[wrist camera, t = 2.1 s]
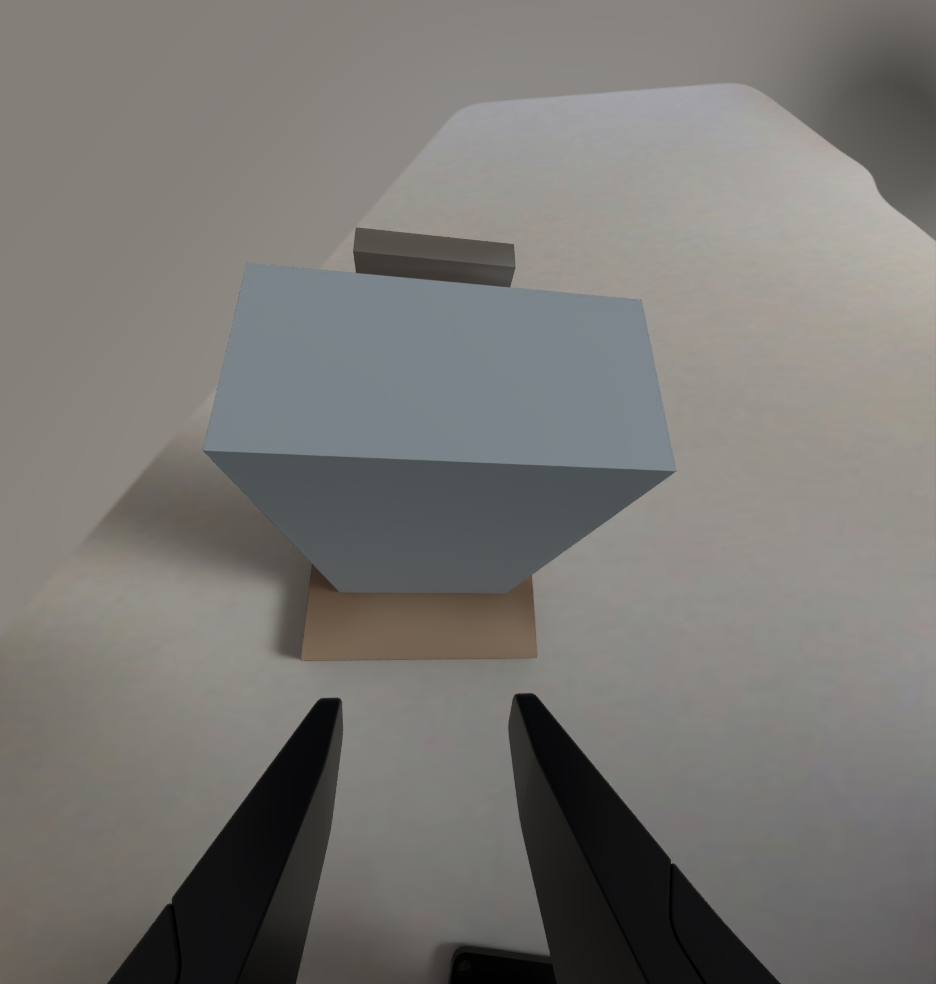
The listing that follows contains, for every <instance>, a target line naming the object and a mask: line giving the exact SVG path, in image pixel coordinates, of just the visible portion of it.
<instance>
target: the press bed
mask: <svg viewBox="0 0 936 984" xmlns="http://www.w3.org/2000/svg"><path fill="white" fill-rule="evenodd" d="M353 253H354V260H355V268H356V273H361V274H371V275H382V276H393V277H403V278H414V279H425V280H435V281H446V282H457V283H467V284H478V285H489V286H499V287H510V285H511V282H512V278H513V274H514V271H515V254H514V244H507V243H497V242H488V241H478V240H469V239H459V238H450V237H441V236H431V235H422V234H412V233H403V232H394V231H384V230H375V229H365V228H356V231H355V240H354V249H353ZM501 658H537V646H536V631H535V616H534V600H533V585H532V575H531V576H529V577H528V578H527V579H525V580H524V581H522V582H521V583H520V584H518V585H517V586H515V587H514V588H513V589H511V590H510V591H508V592H507V593H506V594H482V593H340V592H339V591H338V590H337V589H336V588H335V587H334V586H333V585H332V584H331V583H330V582H329V581H328V580H327V578H326V577H325V576H324V575H323V574H322V573H321V572H320V571H319V570H318V569H317V568H316V567H315V566H314V565H313V564H312V570H311V578H310V587H309V595H308V603H307V612H306V620H305V629H304V637H303V646H302V654H301V661H331V660H416V659H501Z"/></svg>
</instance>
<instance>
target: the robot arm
mask: <svg viewBox="0 0 936 984" xmlns="http://www.w3.org/2000/svg"><path fill="white" fill-rule="evenodd" d="M508 730H509V740H510V748H511V756H512V764H513V772H514V780H515V788H516V796H517V804H518V811H519V818H520V823H521V828H522V833H523V837H524V842H525V846H526V851H527V855H528V859H529V864H530V868H531V872H532V877H533V881H534V886H535V890H536V894H537V899H538V903H539V907H540V912H541V916H542V921H543V925H544V929H545V934H546V938H547V942H548V947H549V951H550V956H551V958H547V957H540V956H533V955H526V954H518V953H511V952H504V951H497V950H490V949H483V948H476V947H468V946H463V947H460V948H458V949H457V950H456V951H455V953H454V954H453V957H452V960H451V967H450V975H449V982H448V984H781V983H780V982H779V981H778V980H777V979H776V978H775V977H774V976H773V975H772V974H771V973H770V972H769V971H768V970H767V969H766V967H765V966H764V965H763V964H762V963H761V962H760V961H759V960H758V959H757V958H756V957H755V956H754V955H753V953H752V952H751V951H750V950H749V949H748V948H747V947H746V946H745V945H744V944H743V943H742V941H741V940H740V939H739V938H738V937H737V936H736V935H735V934H734V933H733V932H732V931H731V929H730V928H729V927H728V926H727V925H726V924H725V923H724V922H723V921H722V919H721V918H720V917H719V916H718V915H717V914H716V912H715V911H714V910H713V909H712V908H711V907H710V905H709V904H708V903H707V902H706V901H705V900H704V898H703V897H702V896H701V895H700V894H699V892H698V891H697V890H696V889H695V888H694V887H693V885H692V884H691V883H690V882H689V881H688V879H687V878H686V877H685V876H684V874H683V873H682V872H681V871H680V870H679V868H678V867H677V866H676V865H675V864H673V863H672V864H671V859H670V858H669V856H668V855H667V854H666V853H665V852H664V850H663V849H662V848H661V847H660V845H659V844H658V843H657V842H656V841H655V839H654V838H653V837H652V836H651V835H650V833H649V832H648V831H647V830H646V828H645V827H644V826H643V825H642V824H641V822H640V821H639V820H638V819H637V818H636V816H635V815H634V814H633V813H632V811H631V810H630V809H629V808H628V807H627V805H626V804H625V803H624V802H623V800H622V799H621V798H620V797H619V796H618V794H617V793H616V792H615V791H614V790H613V788H612V787H611V786H610V785H609V783H608V782H607V781H606V780H605V779H604V777H603V776H602V775H601V774H600V773H599V771H598V770H597V769H596V768H595V766H594V765H593V764H592V763H591V762H590V760H589V759H588V758H587V757H586V755H585V754H584V753H583V752H582V751H581V749H580V748H579V747H578V746H577V745H576V743H575V742H574V741H573V740H572V738H571V737H570V736H569V735H568V734H567V732H566V731H565V730H564V729H563V728H562V726H561V725H560V724H559V723H558V721H557V720H556V719H555V718H554V717H553V715H552V714H551V713H550V712H549V710H548V709H547V708H546V707H545V706H544V704H543V703H542V702H541V701H540V700H539V698H538V697H537V696H536V695H534V694H532V693H522V694H515V695H514V697H513V701H512V706H511V712H510V718H509V726H508ZM342 737H343V715H342V701H341V699H340V698H321V699H319V700H318V701H317V702H316V703H315V705H314V706H313V707H312V709H311V710H310V712H309V713H308V714H307V716H306V717H305V718H304V720H303V721H302V722H301V724H300V725H299V726H298V728H297V729H296V731H295V732H294V733H293V735H292V736H291V737H290V739H289V740H288V741H287V743H286V744H285V745H284V747H283V748H282V750H281V751H280V752H279V754H278V755H277V756H276V758H275V759H274V760H273V762H272V763H271V764H270V766H269V767H268V768H267V770H266V771H265V773H264V774H263V775H262V777H261V778H260V779H259V781H258V782H257V783H256V785H255V786H254V787H253V789H252V790H251V792H250V793H249V794H248V796H247V797H246V798H245V800H244V801H243V802H242V804H241V805H240V806H239V808H238V809H237V811H236V812H235V813H234V815H233V816H232V817H231V819H230V820H229V821H228V823H227V824H226V825H225V827H224V828H223V830H222V831H221V832H220V834H219V835H218V836H217V838H216V839H215V840H214V842H213V843H212V844H211V846H210V847H209V848H208V850H207V851H206V853H205V854H204V855H203V857H202V858H201V859H200V861H199V862H198V863H197V865H196V866H195V867H194V869H193V870H192V872H191V873H190V874H189V876H188V877H187V878H186V880H185V881H184V882H183V884H182V885H181V886H180V888H179V889H178V891H177V892H176V893H175V895H174V896H173V898H172V904H167V905H166V906H165V908H164V909H163V910H162V912H161V913H160V915H159V916H158V917H157V919H156V920H155V921H154V923H153V924H152V925H151V927H150V928H149V930H148V931H147V932H146V934H145V935H144V936H143V938H142V939H141V940H140V942H139V943H138V944H137V945H136V947H135V948H134V949H133V951H132V952H131V953H130V955H129V956H128V957H127V958H126V960H125V961H124V962H123V964H122V965H121V966H120V968H119V969H118V970H117V971H116V973H115V974H114V975H113V977H112V978H111V979H110V981H109V982H108V983H107V984H296V980H297V976H298V971H299V967H300V962H301V958H302V954H303V949H304V945H305V941H306V936H307V932H308V928H309V923H310V919H311V915H312V910H313V906H314V902H315V897H316V893H317V889H318V884H319V880H320V876H321V871H322V867H323V863H324V858H325V854H326V850H327V845H328V840H329V835H330V830H331V824H332V817H333V810H334V802H335V794H336V786H337V778H338V770H339V762H340V754H341V746H342ZM464 960H467V961H468V962H469V963H470V965H469V968H468V969H467V970H465V971H461V970H460V969H459V968H458V967H459V964H460V963H461V962H462V961H464Z"/></svg>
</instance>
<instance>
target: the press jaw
mask: <svg viewBox="0 0 936 984" xmlns="http://www.w3.org/2000/svg"><path fill="white" fill-rule="evenodd" d="M203 451H204V452H205V453H206V454H207V455H208V456H209V457H210V458H211V459H212V461H213V462H214V463H215V464H216V465H217V466H218V467H219V468H220V469H221V470H222V471H223V472H224V473H225V474H226V475H227V476H228V477H229V478H230V479H231V480H232V481H233V482H234V483H235V484H236V485H237V486H238V487H239V488H240V489H241V491H242V492H243V493H244V494H245V495H246V496H247V497H248V498H249V499H250V500H251V501H252V502H253V503H254V504H255V505H256V506H257V507H258V508H259V509H260V510H261V511H262V512H263V513H264V514H265V515H266V516H267V517H268V518H269V519H270V521H271V522H272V523H273V524H274V525H275V526H276V527H277V528H278V529H279V530H280V531H281V532H282V533H283V534H284V535H285V536H286V537H287V538H288V539H289V540H290V541H291V542H292V543H293V544H294V545H295V546H296V547H297V548H298V550H299V551H300V552H301V553H302V554H303V555H304V556H305V557H306V558H307V559H308V560H309V561H310V562H311V563H312V564H313V565H314V566H315V567H316V568H317V569H318V570H319V571H320V572H321V573H322V574H323V575H324V576H325V577H326V578H327V580H328V581H329V582H330V583H331V584H332V585H333V586H334V587H335V588H336V589H337V590H338V591H339V592H340V593H482V594H506V593H507V592H508V591H510V590H511V589H513V588H514V587H515V586H517V585H518V584H520V583H521V582H522V581H524V580H525V579H527V578H528V577H529V576H531V575H532V574H534V573H535V572H536V571H538V570H539V569H540V568H542V567H543V566H545V565H546V564H547V563H549V562H550V561H552V560H553V559H554V558H556V557H557V556H559V555H560V554H561V553H563V552H564V551H566V550H567V549H568V548H570V547H571V546H573V545H574V544H575V543H577V542H578V541H580V540H581V539H582V538H584V537H585V536H587V535H588V534H589V533H591V532H592V531H594V530H595V529H596V528H598V527H599V526H601V525H602V524H603V523H605V522H606V521H607V520H609V519H610V518H612V517H613V516H614V515H616V514H617V513H619V512H620V511H621V510H623V509H624V508H626V507H627V506H628V505H630V504H631V503H633V502H634V501H635V500H637V499H638V498H640V497H641V496H642V495H644V494H645V493H647V492H648V491H649V490H651V489H652V488H654V487H655V486H656V485H658V484H659V483H661V482H662V481H663V480H665V479H666V478H668V477H669V476H670V475H672V474H673V473H674V472H676V467H675V462H674V457H673V452H672V447H671V442H670V438H669V433H668V428H667V423H666V418H665V413H664V408H663V403H662V398H661V393H660V388H659V383H658V378H657V373H656V369H655V364H654V359H653V354H652V349H651V344H650V339H649V334H648V329H647V324H646V319H645V314H644V309H643V304H642V300H638V299H627V298H616V297H606V296H595V295H584V294H574V293H563V292H553V291H542V290H531V289H521V288H510V287H499V286H489V285H478V284H467V283H457V282H446V281H435V280H425V279H414V278H403V277H393V276H382V275H371V274H361V273H350V272H339V271H329V270H318V269H307V268H297V267H296V268H295V267H286V266H275V265H265V264H254V263H247V264H246V268H245V272H244V276H243V280H242V285H241V289H240V293H239V298H238V303H237V306H236V310H235V315H234V319H233V323H232V328H231V332H230V336H229V341H228V345H227V349H226V353H225V358H224V362H223V366H222V371H221V375H220V379H219V383H218V388H217V392H216V396H215V401H214V405H213V409H212V413H211V418H210V422H209V426H208V431H207V435H206V439H205V444H204V448H203Z"/></svg>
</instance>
